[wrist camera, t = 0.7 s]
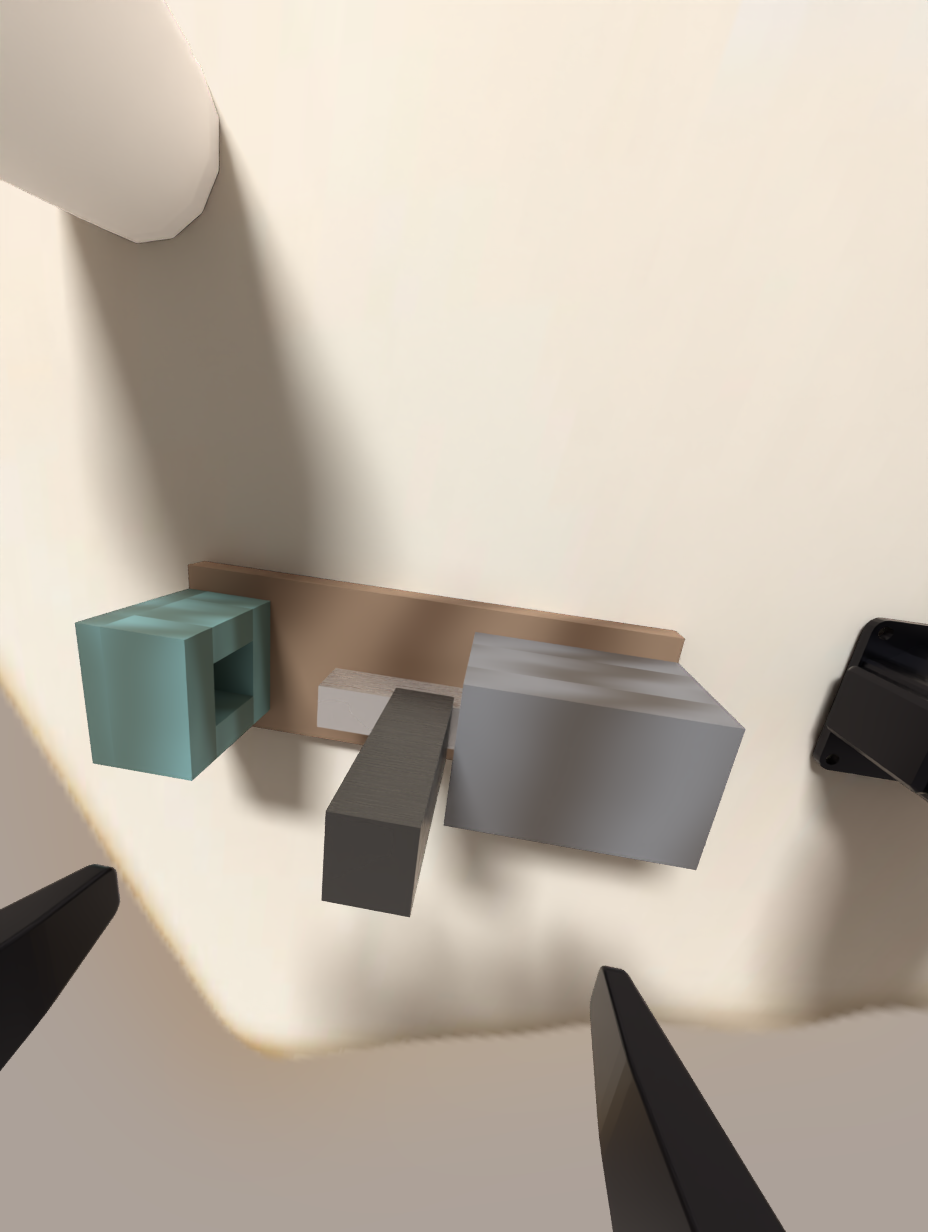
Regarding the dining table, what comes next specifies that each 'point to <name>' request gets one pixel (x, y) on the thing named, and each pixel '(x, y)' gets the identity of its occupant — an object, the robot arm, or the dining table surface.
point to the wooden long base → (434, 653)
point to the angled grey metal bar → (384, 785)
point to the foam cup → (106, 114)
